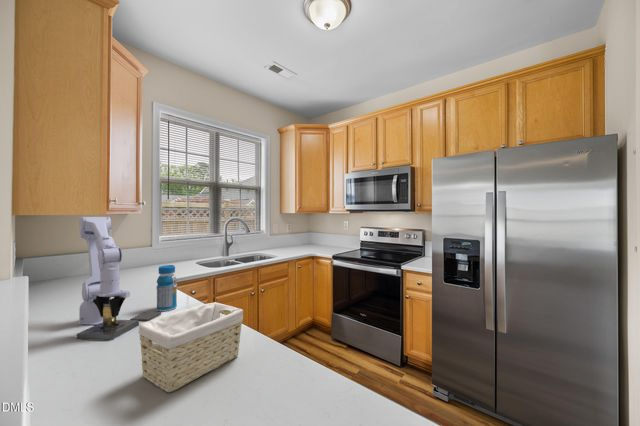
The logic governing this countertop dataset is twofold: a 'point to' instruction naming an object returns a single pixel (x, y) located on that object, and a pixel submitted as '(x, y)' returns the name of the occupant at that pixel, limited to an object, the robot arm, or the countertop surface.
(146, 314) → the mat
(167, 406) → the countertop surface
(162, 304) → the blue bottle
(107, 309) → the cylindrical knob
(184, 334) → the storage basket
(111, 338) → the housing
